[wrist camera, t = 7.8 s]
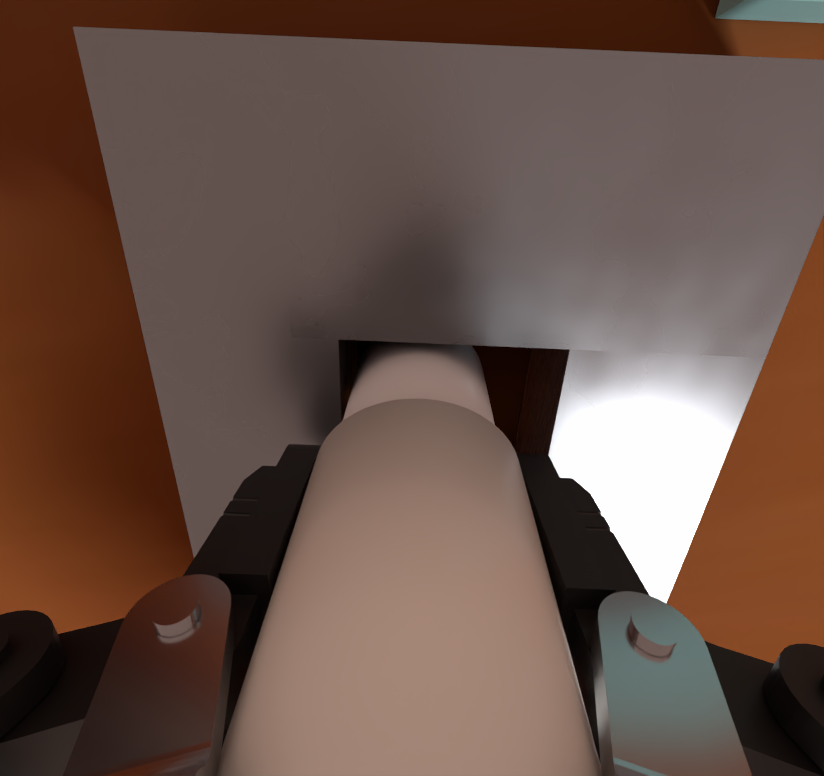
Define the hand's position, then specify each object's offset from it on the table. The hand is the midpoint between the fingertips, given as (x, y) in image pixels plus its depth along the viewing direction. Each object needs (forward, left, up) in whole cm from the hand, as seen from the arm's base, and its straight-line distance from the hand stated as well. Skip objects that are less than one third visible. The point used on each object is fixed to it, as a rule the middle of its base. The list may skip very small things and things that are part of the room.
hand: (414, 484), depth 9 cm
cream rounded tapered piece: (+1, 0, -3) cm, 3 cm away
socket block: (0, -1, -4) cm, 4 cm away
